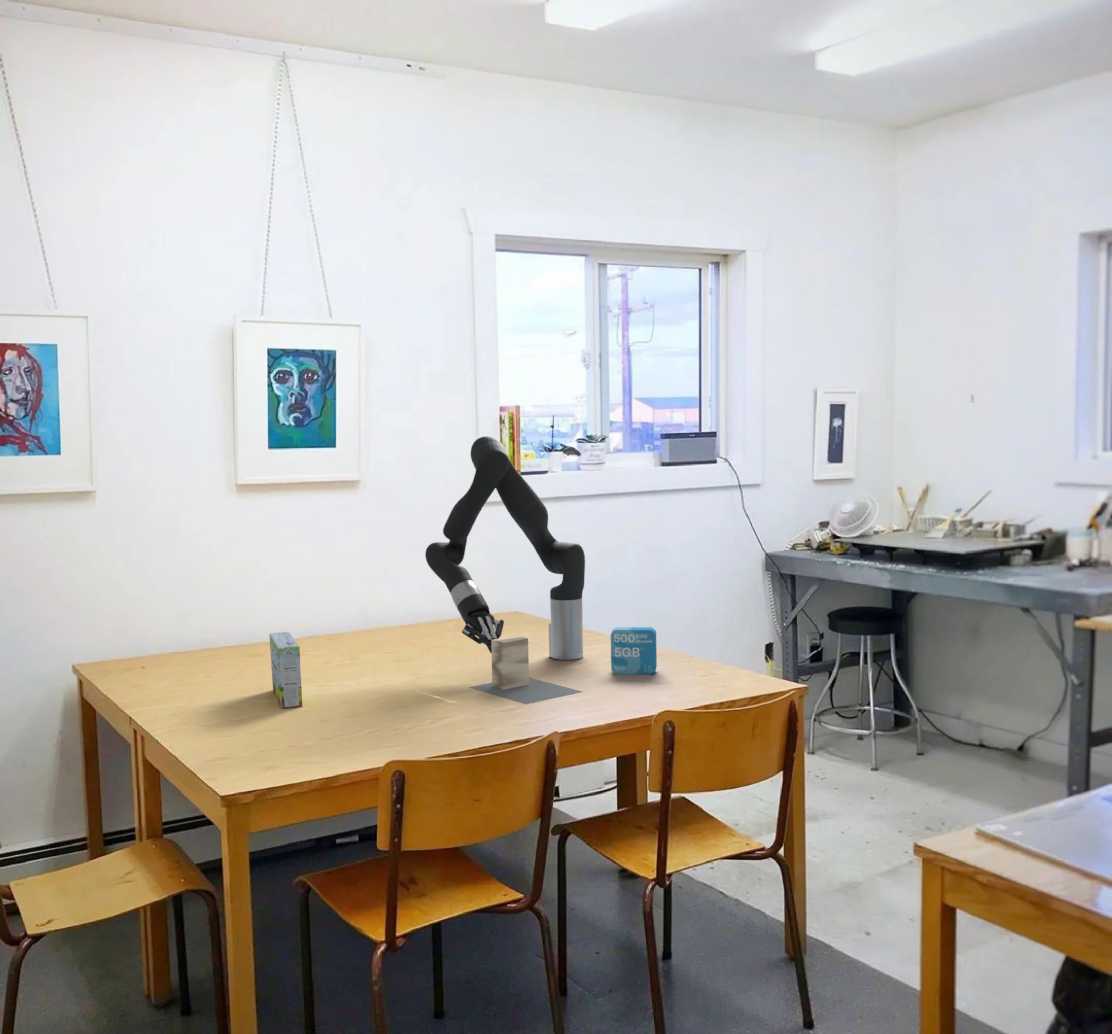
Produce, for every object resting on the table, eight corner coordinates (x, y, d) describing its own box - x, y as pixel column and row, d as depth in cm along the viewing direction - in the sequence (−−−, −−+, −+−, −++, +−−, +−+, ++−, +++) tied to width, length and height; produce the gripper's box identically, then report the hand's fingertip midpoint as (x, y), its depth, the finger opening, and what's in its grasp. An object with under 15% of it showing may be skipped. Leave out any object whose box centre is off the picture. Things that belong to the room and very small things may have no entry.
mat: (468, 688, 277) (468, 687, 277) (524, 677, 288) (524, 676, 288) (526, 705, 259) (526, 704, 258) (583, 692, 270) (583, 691, 270)
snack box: (270, 690, 279) (268, 632, 278) (292, 688, 281) (290, 630, 280) (280, 709, 259) (277, 647, 258) (303, 707, 261) (301, 645, 260)
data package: (611, 674, 290) (610, 629, 289) (612, 670, 295) (611, 626, 294) (656, 674, 289) (655, 630, 288) (656, 671, 293) (656, 627, 292)
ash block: (491, 686, 278) (490, 639, 277) (516, 681, 283) (515, 635, 282) (504, 689, 274) (502, 642, 273) (529, 684, 279) (528, 638, 278)
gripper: (454, 595, 284) (482, 648, 275) (495, 590, 292) (523, 641, 284) (443, 613, 288) (471, 665, 280) (484, 607, 297) (512, 658, 288)
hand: (497, 653), depth 282 cm, fingers closed
